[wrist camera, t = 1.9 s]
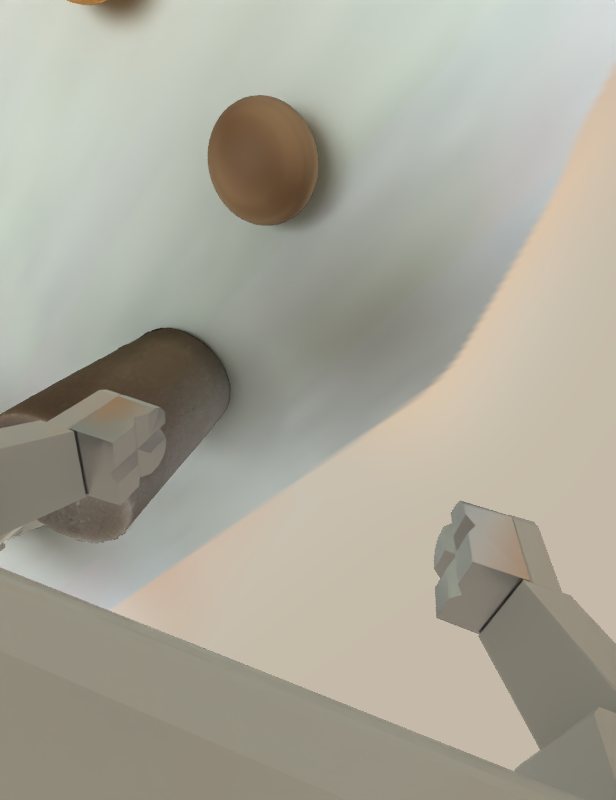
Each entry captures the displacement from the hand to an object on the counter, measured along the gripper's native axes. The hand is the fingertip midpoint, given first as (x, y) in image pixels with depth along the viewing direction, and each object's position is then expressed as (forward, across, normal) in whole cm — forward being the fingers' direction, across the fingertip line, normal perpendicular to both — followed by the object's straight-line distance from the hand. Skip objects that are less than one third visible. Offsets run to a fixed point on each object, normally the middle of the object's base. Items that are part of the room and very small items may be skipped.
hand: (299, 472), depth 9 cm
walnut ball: (+16, +8, -6) cm, 19 cm away
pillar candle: (+20, +14, +12) cm, 27 cm away
